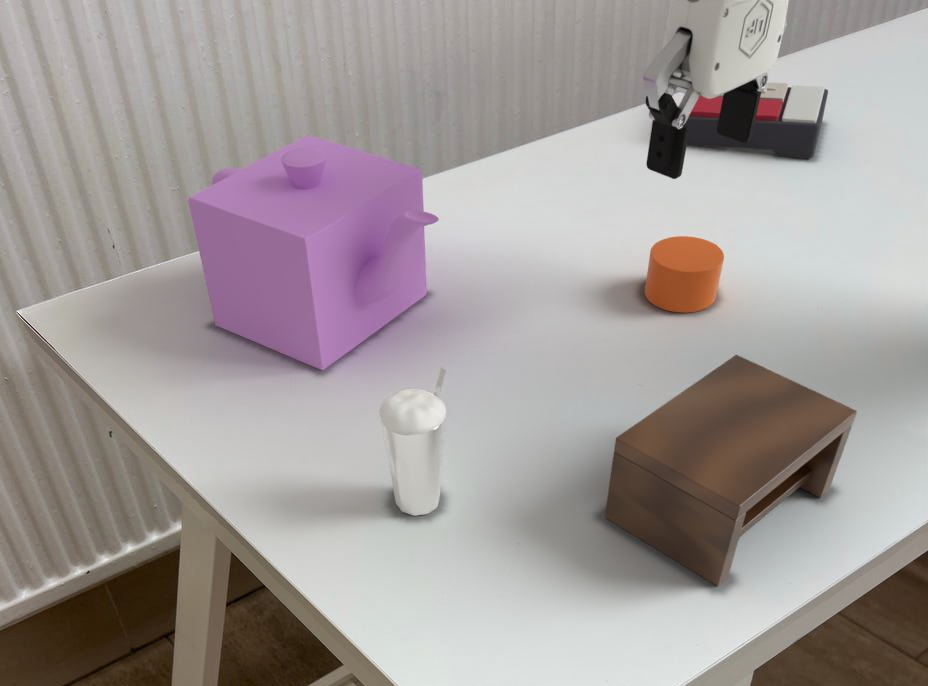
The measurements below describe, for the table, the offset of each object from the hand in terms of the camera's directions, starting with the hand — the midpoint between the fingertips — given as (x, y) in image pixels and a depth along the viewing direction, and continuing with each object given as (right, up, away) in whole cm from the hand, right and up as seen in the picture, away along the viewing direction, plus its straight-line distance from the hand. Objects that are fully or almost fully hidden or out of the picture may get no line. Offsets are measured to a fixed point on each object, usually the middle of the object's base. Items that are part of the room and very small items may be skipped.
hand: (699, 154), depth 81 cm
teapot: (-32, -11, +9) cm, 35 cm away
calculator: (+15, +19, +33) cm, 41 cm away
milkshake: (-23, -30, -9) cm, 39 cm away
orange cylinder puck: (+1, -8, +10) cm, 13 cm away
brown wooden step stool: (-1, -31, -10) cm, 32 cm away
